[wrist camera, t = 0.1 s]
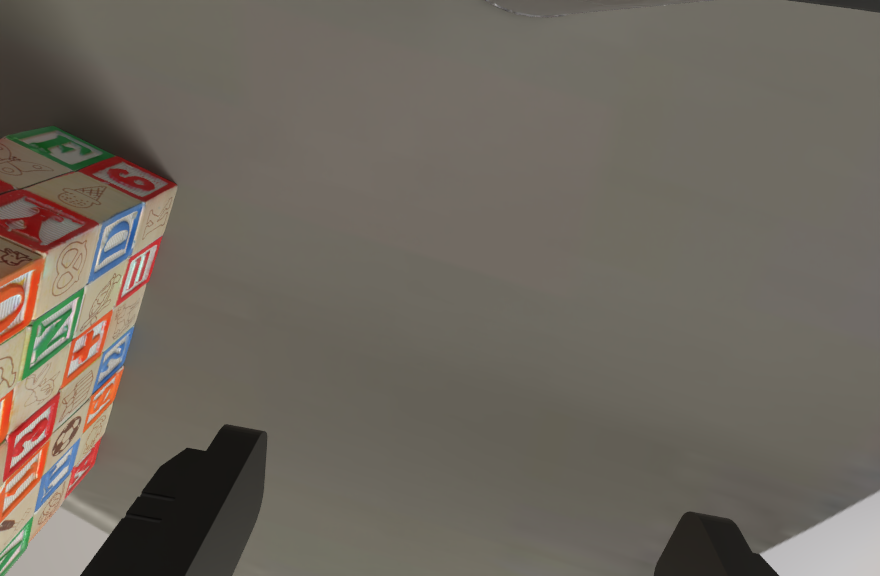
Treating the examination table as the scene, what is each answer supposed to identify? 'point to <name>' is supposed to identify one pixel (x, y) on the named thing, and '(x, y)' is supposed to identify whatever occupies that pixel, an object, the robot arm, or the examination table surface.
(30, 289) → the stack of blocks
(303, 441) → the examination table surface
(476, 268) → the examination table surface
